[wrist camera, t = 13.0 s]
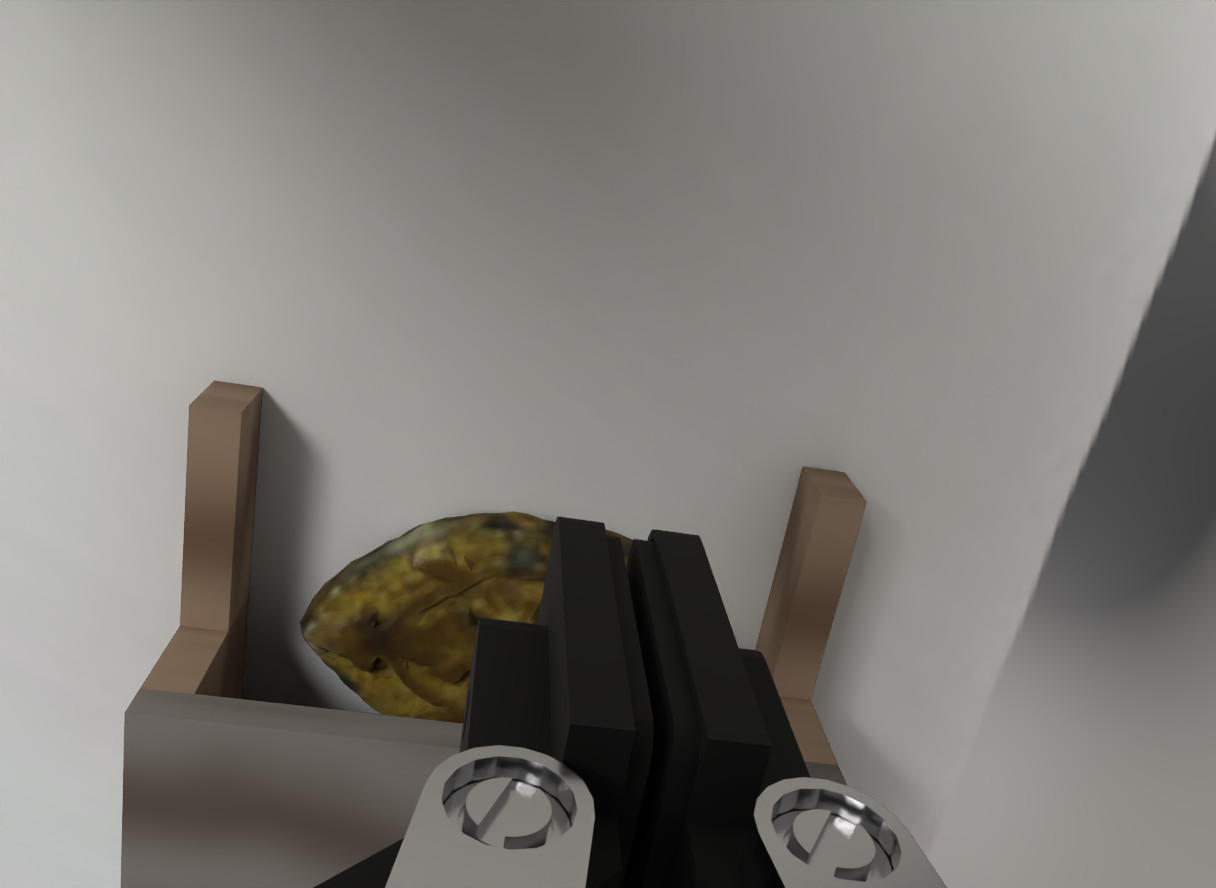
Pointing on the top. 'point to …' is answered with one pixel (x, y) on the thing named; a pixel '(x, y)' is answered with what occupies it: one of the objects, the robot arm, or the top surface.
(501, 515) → the mottled yellow-brown oval piece
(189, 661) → the wooden step block
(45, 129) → the top surface
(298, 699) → the top surface
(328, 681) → the top surface
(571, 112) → the top surface
